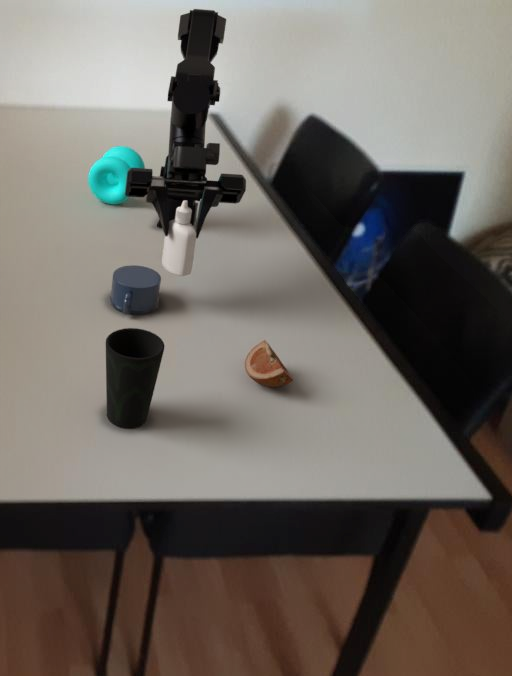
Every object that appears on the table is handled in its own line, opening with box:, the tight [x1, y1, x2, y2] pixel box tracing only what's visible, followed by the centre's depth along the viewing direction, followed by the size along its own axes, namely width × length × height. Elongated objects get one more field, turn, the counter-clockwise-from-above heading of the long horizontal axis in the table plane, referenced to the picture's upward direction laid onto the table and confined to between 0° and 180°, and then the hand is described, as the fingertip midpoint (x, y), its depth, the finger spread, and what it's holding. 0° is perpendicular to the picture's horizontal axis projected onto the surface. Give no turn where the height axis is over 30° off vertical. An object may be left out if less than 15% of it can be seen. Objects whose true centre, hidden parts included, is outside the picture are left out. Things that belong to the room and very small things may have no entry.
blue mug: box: [109, 264, 162, 316], centre depth 142 cm, size 10×8×5 cm
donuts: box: [88, 145, 146, 205], centre depth 178 cm, size 10×10×10 cm
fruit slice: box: [244, 339, 294, 387], centre depth 124 cm, size 8×7×5 cm
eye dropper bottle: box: [161, 200, 197, 277], centre depth 136 cm, size 4×6×12 cm
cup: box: [105, 327, 165, 430], centre depth 114 cm, size 8×8×12 cm
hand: (181, 236), depth 135 cm, fingers closed on eye dropper bottle, 4 cm apart
